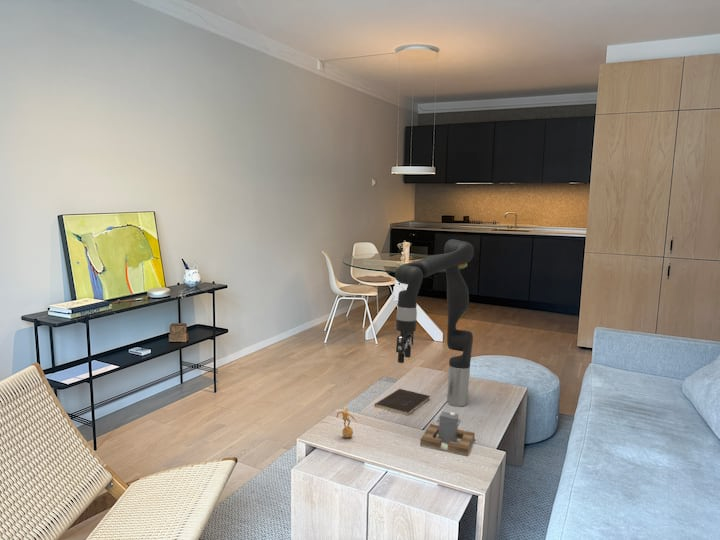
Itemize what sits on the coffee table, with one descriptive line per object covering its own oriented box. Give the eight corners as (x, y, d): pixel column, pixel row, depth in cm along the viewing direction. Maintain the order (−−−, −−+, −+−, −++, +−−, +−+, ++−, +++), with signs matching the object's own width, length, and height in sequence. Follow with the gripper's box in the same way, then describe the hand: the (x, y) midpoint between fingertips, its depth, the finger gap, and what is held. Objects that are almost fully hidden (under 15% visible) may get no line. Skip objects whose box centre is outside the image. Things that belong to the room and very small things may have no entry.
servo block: (438, 436, 193) (440, 408, 192) (459, 440, 190) (461, 412, 189) (435, 441, 189) (437, 412, 188) (457, 445, 186) (459, 416, 185)
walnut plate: (430, 430, 200) (430, 423, 200) (474, 439, 194) (474, 432, 193) (420, 445, 186) (420, 439, 186) (466, 456, 180) (467, 449, 180)
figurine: (359, 437, 191) (361, 406, 189) (352, 443, 185) (353, 412, 184) (340, 432, 194) (341, 402, 193) (332, 438, 189) (333, 407, 188)
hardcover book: (429, 400, 233) (430, 395, 233) (407, 417, 214) (407, 411, 213) (398, 393, 241) (398, 388, 241) (374, 408, 222) (374, 402, 221)
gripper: (410, 322, 186) (408, 366, 188) (421, 316, 199) (418, 356, 201) (391, 320, 189) (388, 363, 190) (402, 313, 202) (400, 354, 204)
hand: (404, 359), depth 196 cm, fingers open, 8 cm apart
